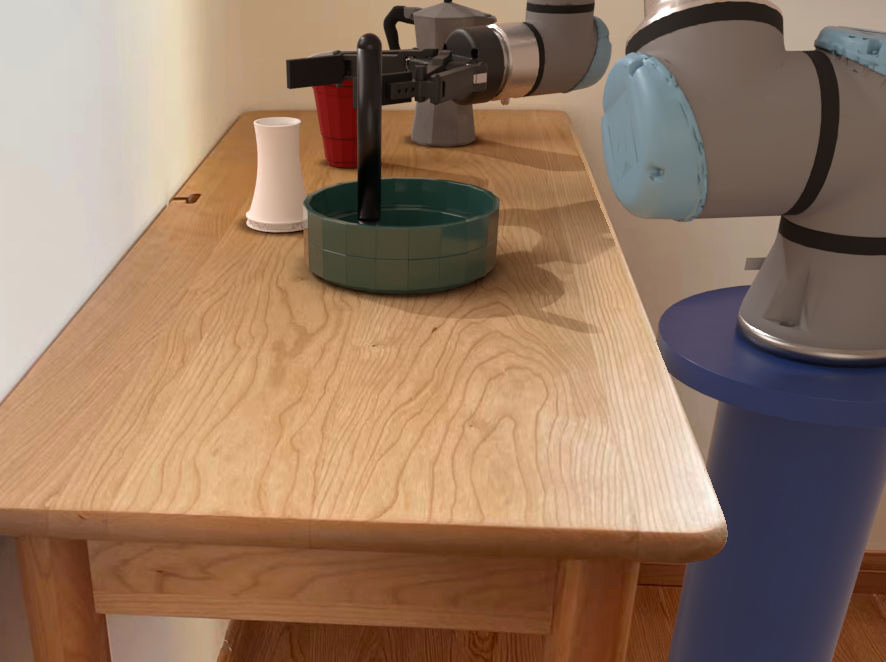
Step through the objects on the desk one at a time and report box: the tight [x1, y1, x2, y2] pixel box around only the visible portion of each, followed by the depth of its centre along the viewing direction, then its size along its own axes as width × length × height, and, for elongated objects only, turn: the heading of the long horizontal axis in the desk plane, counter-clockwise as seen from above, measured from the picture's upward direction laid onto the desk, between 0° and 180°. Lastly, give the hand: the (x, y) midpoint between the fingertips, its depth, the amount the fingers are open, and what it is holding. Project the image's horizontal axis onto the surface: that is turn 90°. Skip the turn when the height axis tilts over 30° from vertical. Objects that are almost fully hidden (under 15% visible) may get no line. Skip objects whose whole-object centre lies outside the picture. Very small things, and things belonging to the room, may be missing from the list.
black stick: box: [356, 32, 383, 226], centre depth 103 cm, size 4×4×19 cm
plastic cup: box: [306, 49, 357, 169], centre depth 140 cm, size 11×11×12 cm
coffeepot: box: [382, 0, 498, 148], centre depth 149 cm, size 15×9×18 cm, turn 66°
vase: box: [245, 116, 308, 233], centre depth 118 cm, size 8×8×10 cm
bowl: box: [302, 176, 501, 295], centre depth 107 cm, size 18×18×6 cm
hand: (319, 83), depth 115 cm, fingers open, 13 cm apart
